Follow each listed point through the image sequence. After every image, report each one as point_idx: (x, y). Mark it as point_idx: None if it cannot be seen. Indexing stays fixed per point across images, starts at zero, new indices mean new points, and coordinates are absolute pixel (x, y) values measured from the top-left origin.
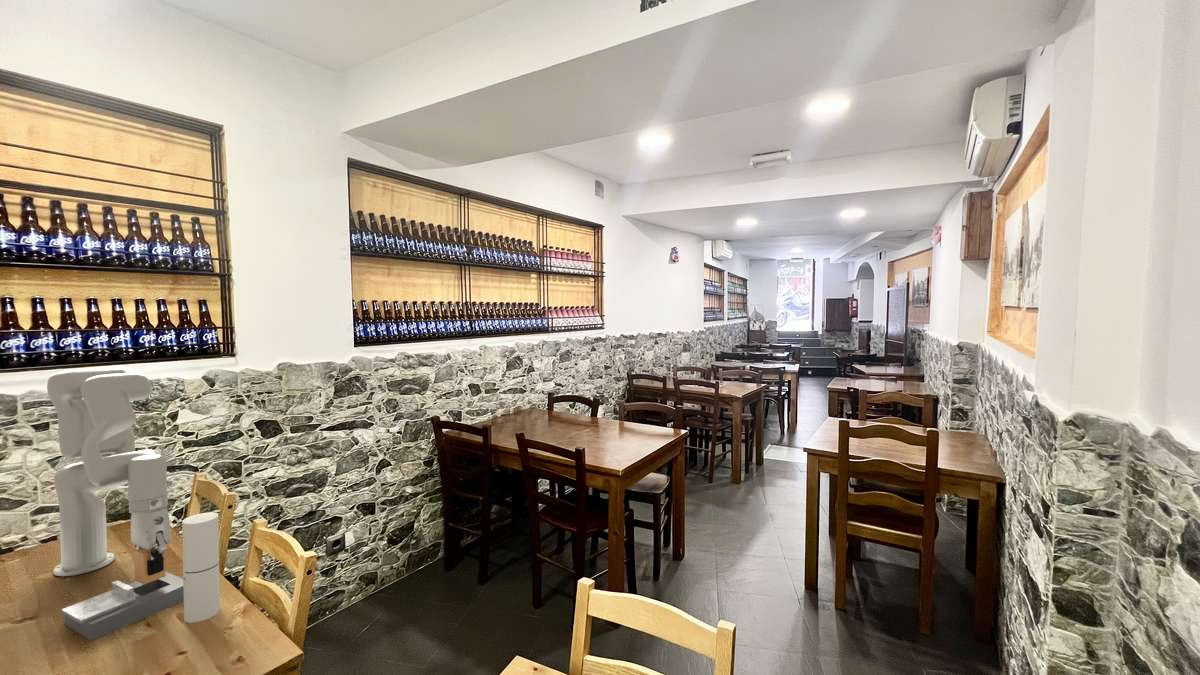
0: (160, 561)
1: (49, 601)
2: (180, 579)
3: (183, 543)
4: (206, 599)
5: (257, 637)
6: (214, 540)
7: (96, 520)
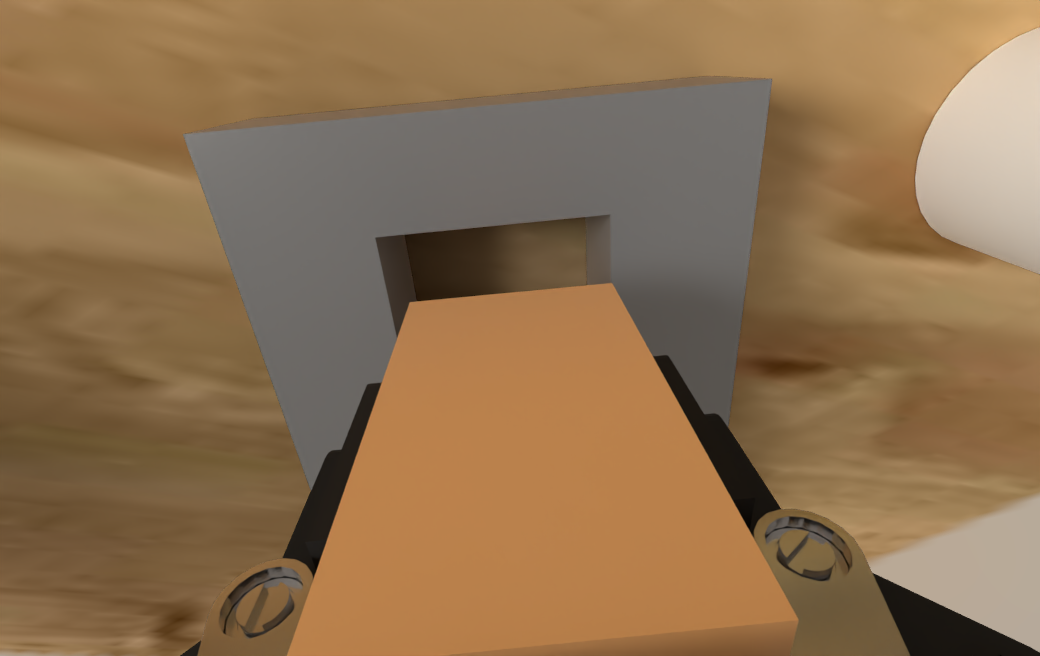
0: (761, 489)
1: (2, 565)
2: (585, 116)
3: None
4: None
5: None
6: None
7: None
